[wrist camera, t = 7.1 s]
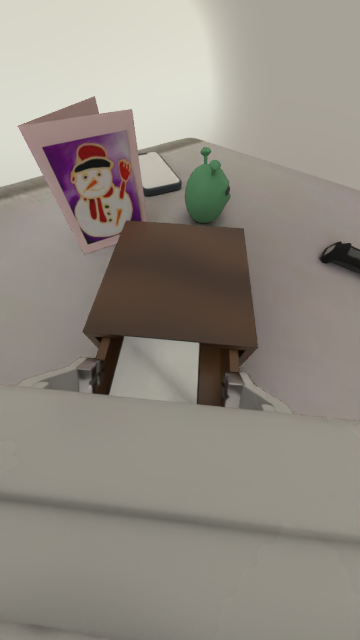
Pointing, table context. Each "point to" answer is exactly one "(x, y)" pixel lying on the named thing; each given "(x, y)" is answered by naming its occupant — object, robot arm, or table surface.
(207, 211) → the alien toy
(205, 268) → the cabinet
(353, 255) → the electric trimmer
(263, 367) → the table surface
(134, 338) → the grey block
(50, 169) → the greeting card
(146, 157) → the phone case
